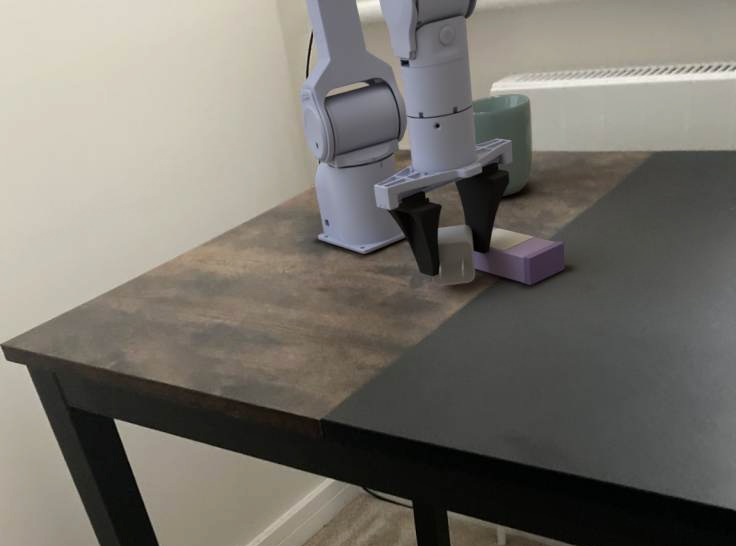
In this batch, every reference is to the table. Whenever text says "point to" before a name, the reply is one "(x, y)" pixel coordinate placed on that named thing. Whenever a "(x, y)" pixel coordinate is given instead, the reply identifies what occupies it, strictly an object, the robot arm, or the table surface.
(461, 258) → the usb wall charger
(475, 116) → the cup
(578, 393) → the table surface
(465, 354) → the table surface
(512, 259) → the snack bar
